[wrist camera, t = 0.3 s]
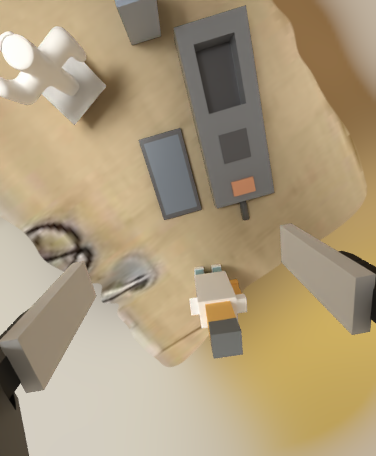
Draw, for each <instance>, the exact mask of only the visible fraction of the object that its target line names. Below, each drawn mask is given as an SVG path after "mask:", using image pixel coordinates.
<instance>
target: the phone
mask: <svg viewBox="0 0 376 456" xmlns="http://www.w3.org/2000/svg"><path fill="white" fill-rule="evenodd" d="M139 143H140V146H141V149H142V152H143V155H144V158H145V162H146V165H147V168H148V171H149V174H150V177H151V180H152V183H153V187H154V190H155V193H156V196H157V199H158V202H159V205H160V208H161V212H162V215H163V218H164V220H166V219H170V218H173V217H177V216H180V215H184V214H188V213H191V212H195V211H198V210H202V209H201V206H200V202H199V198H198V194H197V190H196V187H195V183H194V179H193V175H192V171H191V167H190V164H189V160H188V156H187V152H186V148H185V145H184V141H183V137H182V133H181V129H180V128H178V129H175V130H171V131H168V132H165V133H161V134H158V135H154V136H151V137H148V138H144V139H141V140H139Z"/></svg>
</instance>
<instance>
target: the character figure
mask: <svg viewBox="0 0 376 456" xmlns="http://www.w3.org/2000/svg"><path fill="white" fill-rule="evenodd" d="M211 269H212V273H206V274H204V268H203V266H201V267H194V272H195V275H194V279H195V286H196V294H197V297H196V298H189V300H190V308H191V315H192V316H194V315H200V321H201V328H208V330H209V335H210V340H211V346H212V352H213V357H214V358H221V357H228V356H235V355H242V354H243V350H242V335H241V329H240V326H239V324H238V313H242V312H247V299H246V296H245V294H242V293H241V291H240V289H239V283H238V281H237V279H233V280H229V279H228V276H227V274H226V272H225V271H222V270H221V264H215V265H211Z"/></svg>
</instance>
